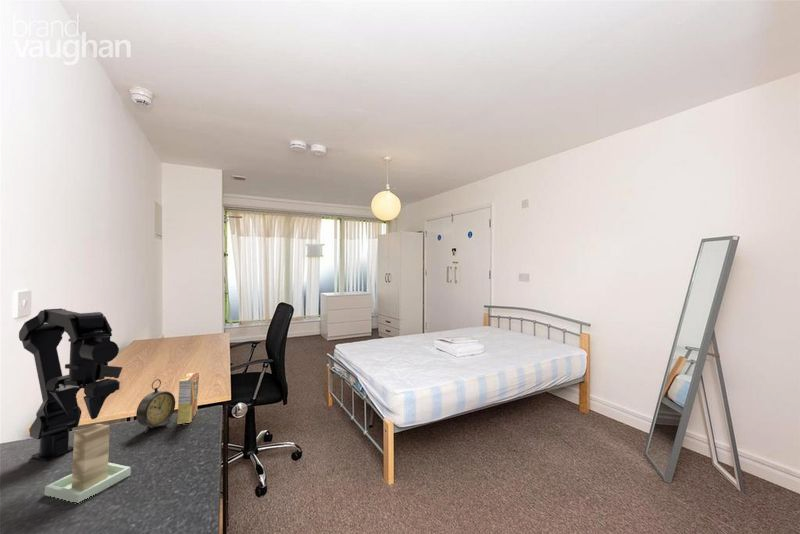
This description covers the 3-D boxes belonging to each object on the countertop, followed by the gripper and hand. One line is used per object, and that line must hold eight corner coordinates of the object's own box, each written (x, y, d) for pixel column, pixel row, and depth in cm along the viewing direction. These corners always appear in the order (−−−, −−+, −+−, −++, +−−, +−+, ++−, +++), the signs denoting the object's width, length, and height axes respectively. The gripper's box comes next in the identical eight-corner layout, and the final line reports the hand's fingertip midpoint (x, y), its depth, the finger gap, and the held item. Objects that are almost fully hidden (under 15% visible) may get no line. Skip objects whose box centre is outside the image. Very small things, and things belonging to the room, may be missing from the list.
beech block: (71, 487, 76) (74, 432, 77) (96, 475, 81) (98, 423, 82) (83, 490, 75) (86, 435, 76) (107, 478, 80) (109, 425, 81)
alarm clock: (145, 436, 102) (147, 385, 103) (131, 434, 103) (134, 383, 104) (175, 421, 113) (177, 375, 113) (163, 419, 114) (165, 374, 114)
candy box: (184, 415, 118) (186, 373, 118) (197, 413, 119) (199, 372, 120) (176, 425, 110) (178, 380, 110) (190, 424, 111) (192, 379, 111)
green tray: (44, 495, 74) (45, 486, 74) (99, 468, 85) (99, 460, 85) (78, 504, 72) (78, 495, 72) (130, 475, 82) (130, 467, 82)
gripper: (141, 354, 93) (138, 408, 92) (94, 350, 97) (92, 401, 97) (95, 364, 82) (93, 426, 81) (46, 359, 87) (43, 417, 86)
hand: (81, 416), depth 87 cm, fingers open, 9 cm apart
